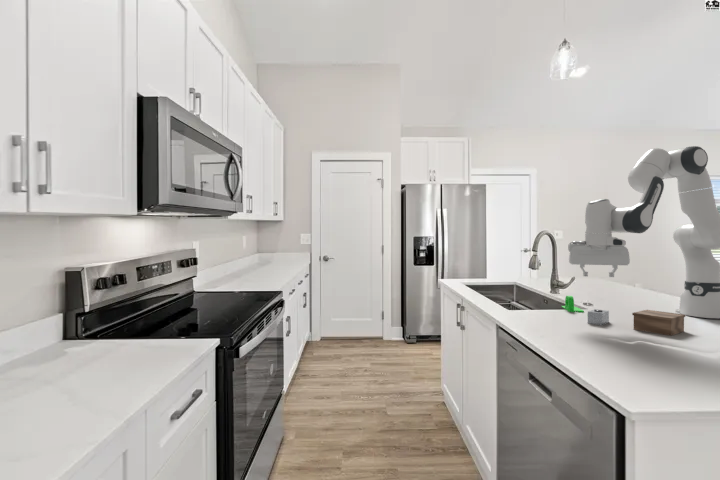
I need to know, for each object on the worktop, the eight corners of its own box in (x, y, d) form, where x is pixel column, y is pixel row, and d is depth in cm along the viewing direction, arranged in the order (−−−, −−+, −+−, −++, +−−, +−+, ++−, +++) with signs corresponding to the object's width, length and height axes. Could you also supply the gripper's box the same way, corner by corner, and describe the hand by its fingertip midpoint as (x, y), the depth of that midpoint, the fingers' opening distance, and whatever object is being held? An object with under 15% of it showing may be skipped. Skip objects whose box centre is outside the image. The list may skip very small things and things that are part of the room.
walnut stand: (646, 325, 154) (646, 309, 154) (685, 331, 144) (685, 314, 144) (632, 329, 148) (632, 312, 148) (671, 335, 138) (671, 318, 138)
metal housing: (594, 321, 162) (594, 308, 162) (608, 323, 158) (608, 309, 158) (587, 324, 156) (587, 310, 156) (602, 326, 153) (602, 312, 153)
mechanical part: (584, 315, 175) (584, 297, 175) (568, 315, 176) (569, 296, 176) (575, 310, 187) (575, 293, 187) (561, 310, 188) (561, 292, 188)
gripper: (568, 241, 158) (569, 276, 158) (630, 241, 151) (630, 278, 151) (567, 241, 164) (567, 275, 164) (626, 240, 156) (627, 276, 156)
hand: (598, 276), depth 157 cm, fingers open, 7 cm apart
